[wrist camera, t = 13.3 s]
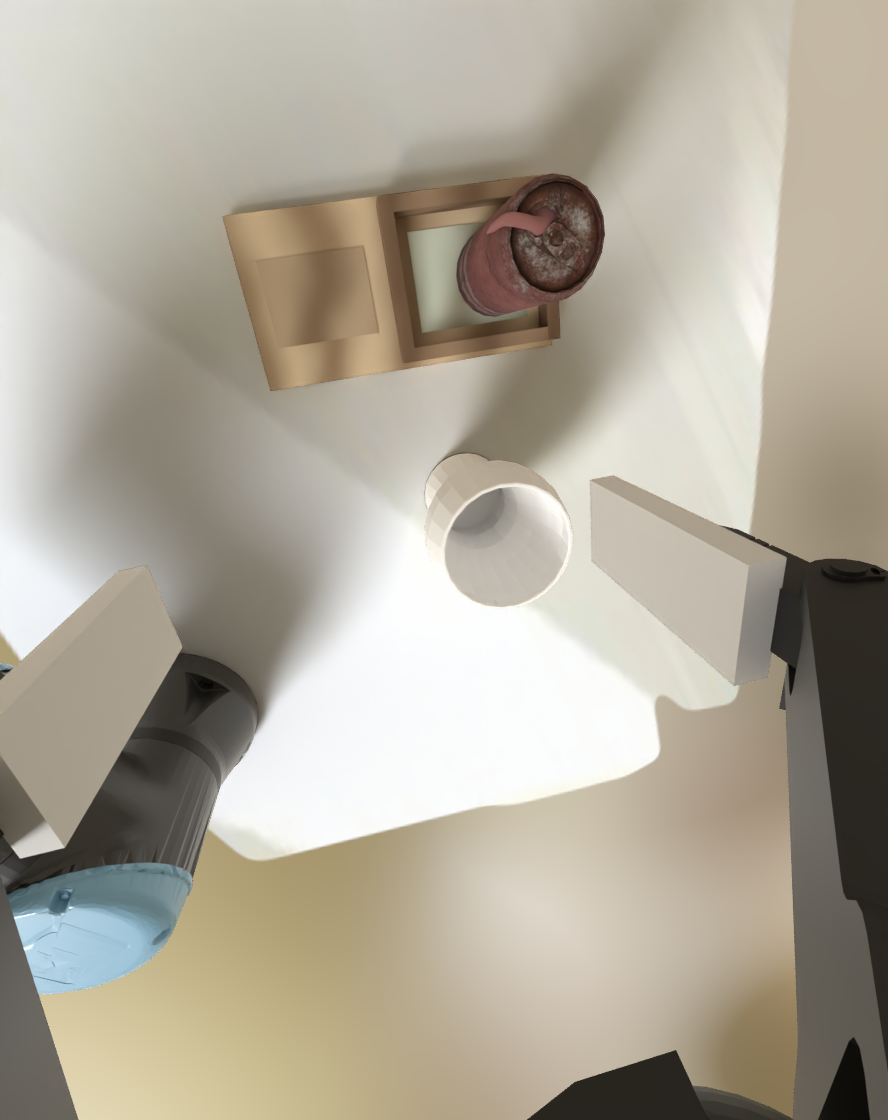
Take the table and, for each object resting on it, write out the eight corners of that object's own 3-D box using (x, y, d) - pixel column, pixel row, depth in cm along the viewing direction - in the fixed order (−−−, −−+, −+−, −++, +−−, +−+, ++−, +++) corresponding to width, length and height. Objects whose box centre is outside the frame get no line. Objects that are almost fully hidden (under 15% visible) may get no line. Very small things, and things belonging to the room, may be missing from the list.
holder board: (273, 389, 41) (266, 392, 38) (227, 221, 36) (214, 208, 33) (545, 345, 43) (560, 344, 40) (536, 180, 38) (552, 165, 35)
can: (455, 223, 37) (507, 156, 25) (534, 235, 38) (622, 178, 26) (448, 312, 40) (492, 292, 27) (522, 320, 41) (598, 306, 28)
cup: (532, 456, 47) (605, 498, 34) (494, 554, 51) (546, 629, 37) (429, 422, 44) (463, 453, 31) (396, 529, 48) (412, 599, 34)
